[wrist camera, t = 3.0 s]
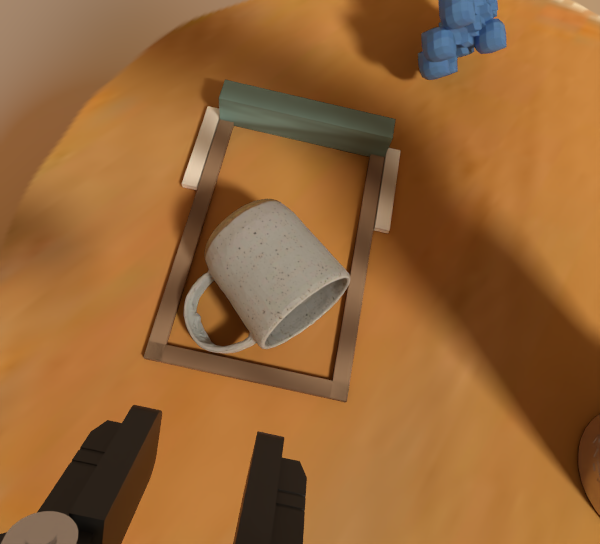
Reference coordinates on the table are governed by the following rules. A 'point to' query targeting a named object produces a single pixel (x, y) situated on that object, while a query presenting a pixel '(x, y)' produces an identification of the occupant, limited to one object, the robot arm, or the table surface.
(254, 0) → the table surface
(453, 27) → the grapes
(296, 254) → the ceramic mug
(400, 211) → the table surface
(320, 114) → the bay
